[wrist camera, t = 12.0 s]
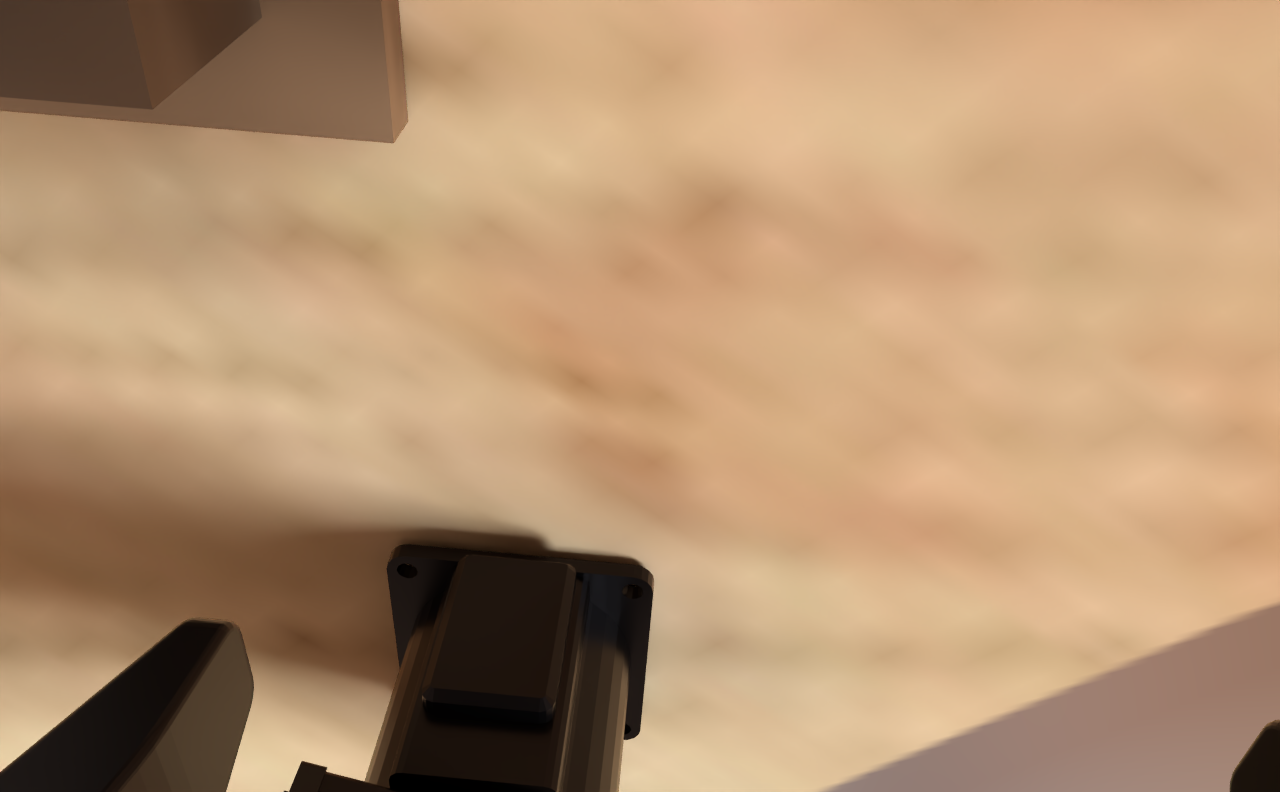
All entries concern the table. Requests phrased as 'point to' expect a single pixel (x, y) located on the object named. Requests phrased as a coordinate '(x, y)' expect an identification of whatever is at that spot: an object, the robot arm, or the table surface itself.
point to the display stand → (210, 64)
